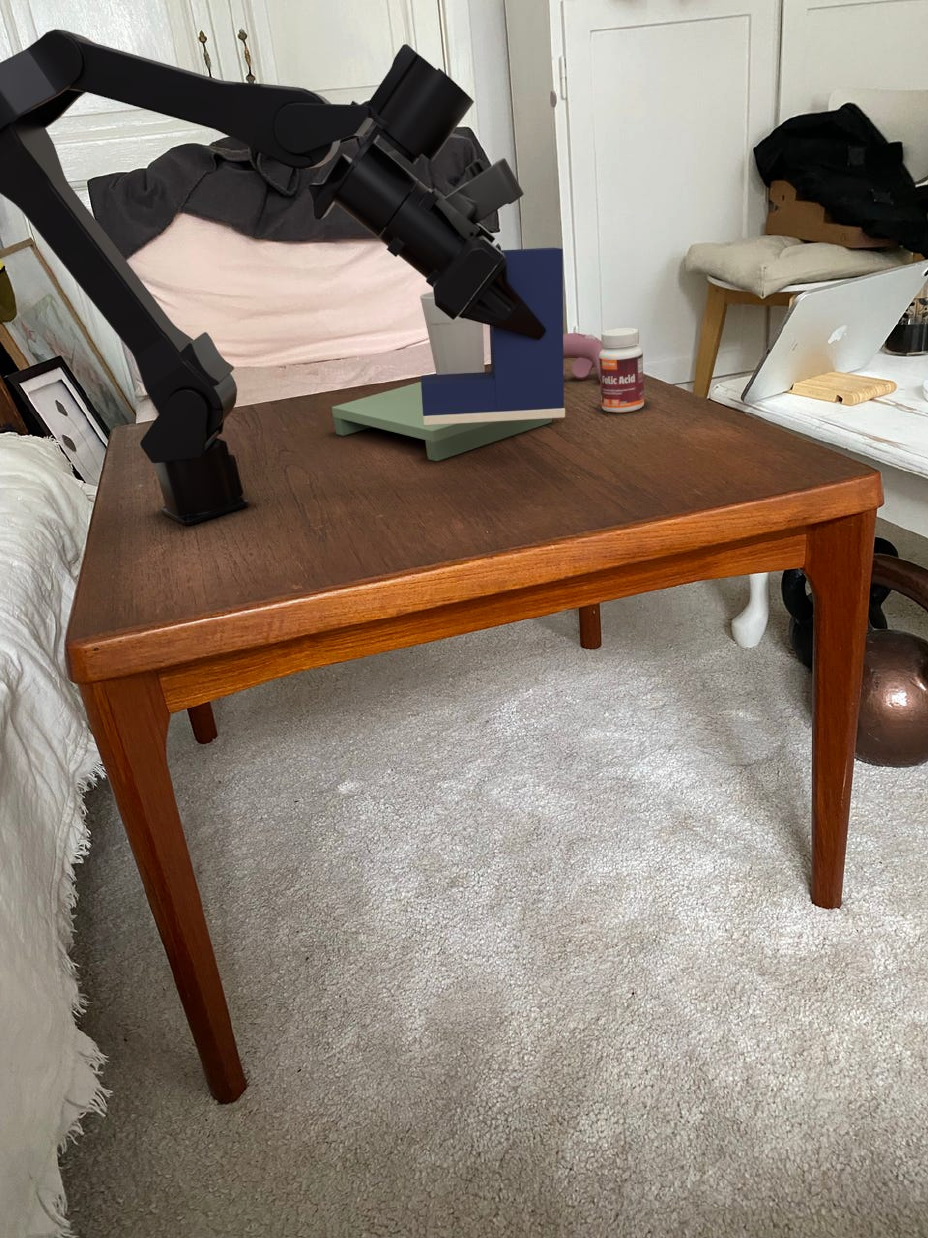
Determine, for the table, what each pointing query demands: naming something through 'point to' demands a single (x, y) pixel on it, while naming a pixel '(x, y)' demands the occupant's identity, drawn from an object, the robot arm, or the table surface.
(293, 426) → the table surface
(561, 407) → the boot
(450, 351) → the cup
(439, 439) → the shoe shelf
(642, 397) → the pill bottle
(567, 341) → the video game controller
